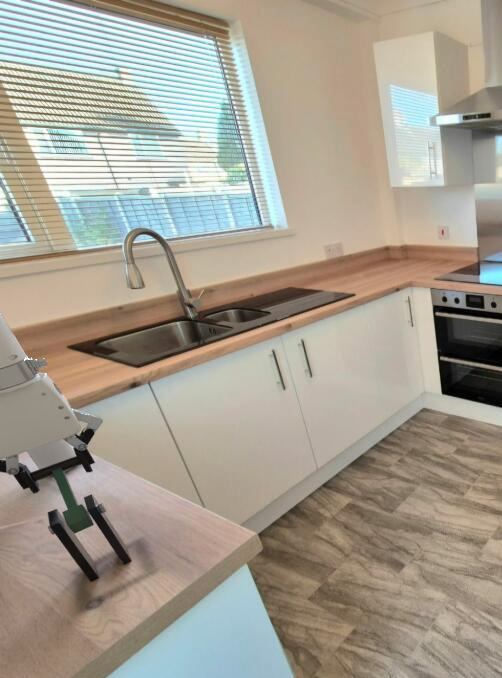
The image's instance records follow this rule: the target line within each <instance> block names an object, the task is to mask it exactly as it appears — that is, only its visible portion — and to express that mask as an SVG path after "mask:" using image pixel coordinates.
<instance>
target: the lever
mask: <svg viewBox="0 0 502 678" xmlns="http://www.w3.org/2000/svg"><path fill="white" fill-rule="evenodd" d="M79 466H82V464H81V463H80V461H79V459H78V458H77V456H75V457H72V458H69V459H67V460H64V461H61V462H58V463H55V464H53V465H50V466H47V467H44V468H42V469H37V470H33V471H30V472H31V473H30V476H31V477H32V479H33V480H34V481H35V482H36V481H37V482H39V481H41V480H44V479H47V478H49V477H52V475H54V476H53V478H54V480H55V483H56V486H57V487H58V491H59V493H60V494H61V496H62V497H61V498H62V499H63V501H64V504H65V506H66V508H67V509H66V510H63V511H62V512H61V515H62V517H63V518H64V520H65V521H66V523H67V526H68V527H69V528H70V529H71V530H72V531H73V532H74V534H78V533H80V532H82V531H84V530H86V529H88V528H91V527H93V526H95V524H94V522H93V518H92V517H91V515H90V514H89V512H88V511H87V508H86V506H84V504H82V503H80V504H79V503H78V501H77V498H76V495H75V493H74V491H73V489H72V487H71V484H70V482H69V480H68V477H67V475H66V472H64V471H65V470H68V469H71V468H73V467H74V468H76V467H79ZM74 468H73V469H74ZM71 470H72V469H71Z"/></svg>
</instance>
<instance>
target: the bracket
mask: <svg viewBox="0 0 502 678" xmlns="http://www.w3.org/2000/svg"><path fill="white" fill-rule="evenodd" d="M83 500H84V504H85V508H86V510H87V511H88V513H89V515H90V517H91V519H92V521H94V523H95V524H96V526H97V527H98V529H99V530H100V531H101V533H102V535H103V536H104V538H105V539H106V541H107V543H108V544H109V545H110V547H111V548H112V550H113V551H114V553H115V554H116V556H117V557H118V558H119V560H120V562H121V563H122V565H123V566H125V565H127V564H129V563H131V562H132V558H131V555H130V552H129V549H128V547H127V545H126V544H125V542H124V541H123V539H122V538H121V536H120V534H119V533H118V531H117V530H116V528H115V527H114V525H113V523H112V522H111V520H110V519H109V518H108V516H107V514H106V512H107V509H106V507H105V505H104V504H103V503H99V502H98V500H97V499H96V497H95V496H94V494H93V493H91V494H89V495H87V496H83ZM47 519H48V524H49V525H47V529H48V531H49V532H50V534H51V535H52V536H54V535H55V536H56V538H57V539H58V540H59V542H60V544H62V546H63V547H64V548H65V549H66V551H67V553H68V554H69V555H70V557H71V558H72V559H73V561H74V562H75V564H77V566H78V567H79V569H80V570H81V571H82V572H83V574H84V575H85V577H86V579H88V581H89V582H90V583H93V582H95V581H97V580H98V579H100V576H99V572H98V569H97V564H96V562H95V560H94V558H92V556H91V555H90V553H89V552H88V551H87V549H86V548H85V546H84V545H83V543H82V542H81V541H80V539H79V538H78V537H77V535H76V533H74V532H73V531H72V530H71V529H70V528H69V527H68V526H67V523H66V521H65V518H64V516H63V514H62V513H61V512H60V511H59V510H58V508H55V509H53V510H50V511H48V512H47Z"/></svg>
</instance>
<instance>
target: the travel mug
mask: <svg viewBox="0 0 502 678" xmlns="http://www.w3.org/2000/svg"><path fill="white" fill-rule="evenodd" d="M73 448H74V447H73V446H72V445H70V444H69V443H67V442H66V441H64V440H60V441H57V442H54V443H51V444H48V445H45V446H42V447H39V448H36V449H33V450H30V451H27V452H26V453H27V454H28V456H29V457H30V458H31V460H32V462H33V463H34V464H35V466H36V467H37V470H39V469H42V468H44V467H47V466H50V465H53V464H55V463H58V462H61V461H64V460H67V459H69V458H72V457H75V456H76V454H75V452H74V449H73ZM74 468H75V467H73V468H71V469H68V470H65V471H64V472H65V473H66V472H68V471H70V470H71V471H72V469H74ZM52 476H53V477H54V475H52ZM52 476H51V477H52Z"/></svg>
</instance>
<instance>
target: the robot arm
mask: <svg viewBox="0 0 502 678" xmlns="http://www.w3.org/2000/svg"><path fill="white" fill-rule="evenodd" d="M45 367H49V365H48V363H47V361H46V359H45V358H44V357H40V358H32V357H29V356H28V355H27V354H26V352H25V351H24V349H23V347H22V346H21V344H20V342H19V340H18V339H17V337H16V336H15V334H14V332H13V331H12V329H11V328H10V325H9V324H8V322H7V320H6V319H5V317H4V316H3V314H2V313H1V311H0V473H5V474H7V475H9V476H13V478H14V479H15V480H16V481H17V483H18V484H19V486H20V488H22V490H27V489H29V490H30V491H31V493H32V494H34V495H35V494H38V493H39V492H40V490H41V489H40V484H39V481H36V482H35V481H34V480H33V479H32V477H31V476H30V473H31V472H32V471H31V470H30V469H29V467H28V466H27V465H26V464H23V463H22V462H19V460H20V459H19V455H20V454H24V453H27V451H30V450H33V449H36V448H39V447H42V446H45V445H48V444H51V443H54V442H57V441H60V440H64V441H66V442H67V443H69V444H70V445H71V446H72V447H73V449H74V452H75V454H76V456H77V458H78V459H79V461H80V463H81V466H82V468H83V469H84V471H85V472H86V473H92V472H93V471H94V470H93V467H92V465H94V464H95V463H96V461H95V459H94V458H93V456H92V455H91V453H90V451H89V450H88V445H89V443H90V442H91V440H92V439H93V437H94V436H95V433H96V432H97V431H98V429H99V428H100V427H101V425H102V424H103V423H104V420H103V418H102V417H101V416H100V415H97V414H93V413H89V412H87V411H83V410H79V409H77V408H73V407H72V405H71V403H70V402H69V401H68V399H67V398H66V396H65V395H64V394H63V392H62V391H61V389H60V388H59V387H58V385H57V384H56V383H55V382H54V381H53V379H52V378H51V377H49V376H48V374H47V373H45V372H39V370H41V369H43V368H45ZM80 422H82V423H86V425H85V427H84V428H83V429H82V426H81V423H80ZM81 430H82V431H81ZM80 431H81V432H80ZM79 432H80V434H78V433H79Z"/></svg>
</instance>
